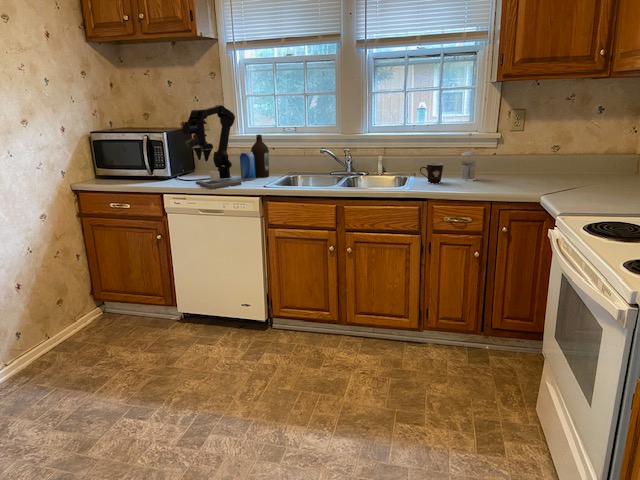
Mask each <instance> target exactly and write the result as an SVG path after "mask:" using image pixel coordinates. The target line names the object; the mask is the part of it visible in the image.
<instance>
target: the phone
mask: <svg viewBox="0 0 640 480" xmlns="http://www.w3.org/2000/svg"><path fill="white" fill-rule="evenodd" d="M200 182H205V181H204V180H198V181H197V180H196V181H195V184H196V185H199V186H200Z"/></svg>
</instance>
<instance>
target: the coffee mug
mask: <svg viewBox="0 0 640 480" xmlns="http://www.w3.org/2000/svg"><path fill="white" fill-rule="evenodd" d="M423 169H425V170H426V171H427V175H426V174H424V173H423V172H422V170H423ZM443 169H444V163H443V162H442V163H440V162H429V163H426V166H421V167H420V168H419V172H420V174H421V175H423V176H424V177H425V178H427V183H428V182H430V183H439V182H440V183H441V180H442V176H443V175H442V174H443ZM430 183H429V184H430ZM440 183H439V184H440Z"/></svg>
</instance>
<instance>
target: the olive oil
mask: <svg viewBox="0 0 640 480" xmlns="http://www.w3.org/2000/svg"><path fill="white" fill-rule="evenodd" d="M255 136H256V138H255V139H256V141H255V143H254V144H253V145H252V146H251V149H250V152H252V153H253V155H254V159H255V175H256V177H255V179H263V178H269V177H270V149H269V147H268V146H267V144H266V143H265V142H264V141H263V136H262V134H256V135H255Z"/></svg>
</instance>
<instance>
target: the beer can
mask: <svg viewBox="0 0 640 480" xmlns="http://www.w3.org/2000/svg"><path fill="white" fill-rule="evenodd" d="M239 167H240V177H241V179H242V181H244V182H245V181H255V179H256V178H255V177H256V175H255V159H254V155H253V153H252V152H251V151H241V152H240V155H239Z"/></svg>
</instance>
